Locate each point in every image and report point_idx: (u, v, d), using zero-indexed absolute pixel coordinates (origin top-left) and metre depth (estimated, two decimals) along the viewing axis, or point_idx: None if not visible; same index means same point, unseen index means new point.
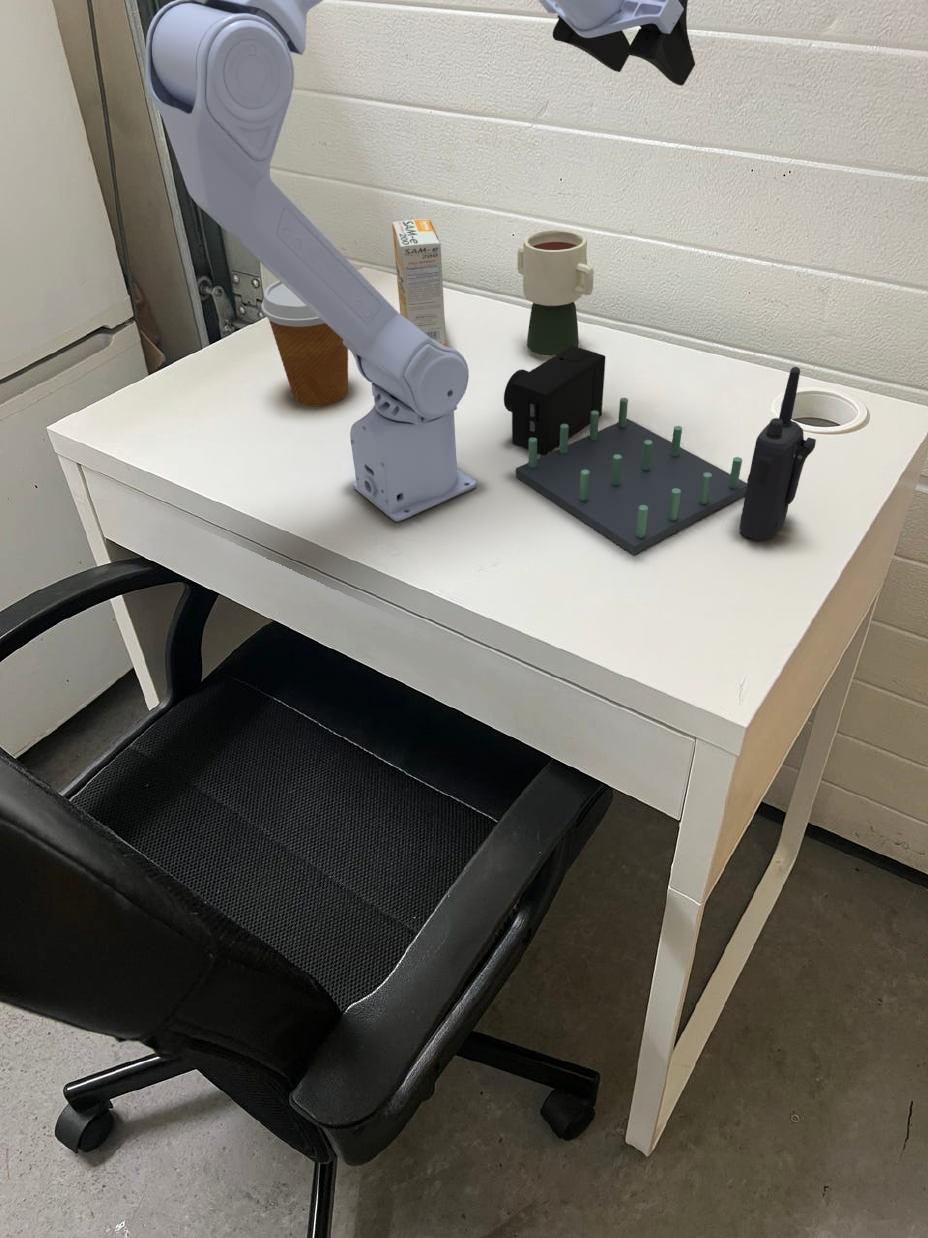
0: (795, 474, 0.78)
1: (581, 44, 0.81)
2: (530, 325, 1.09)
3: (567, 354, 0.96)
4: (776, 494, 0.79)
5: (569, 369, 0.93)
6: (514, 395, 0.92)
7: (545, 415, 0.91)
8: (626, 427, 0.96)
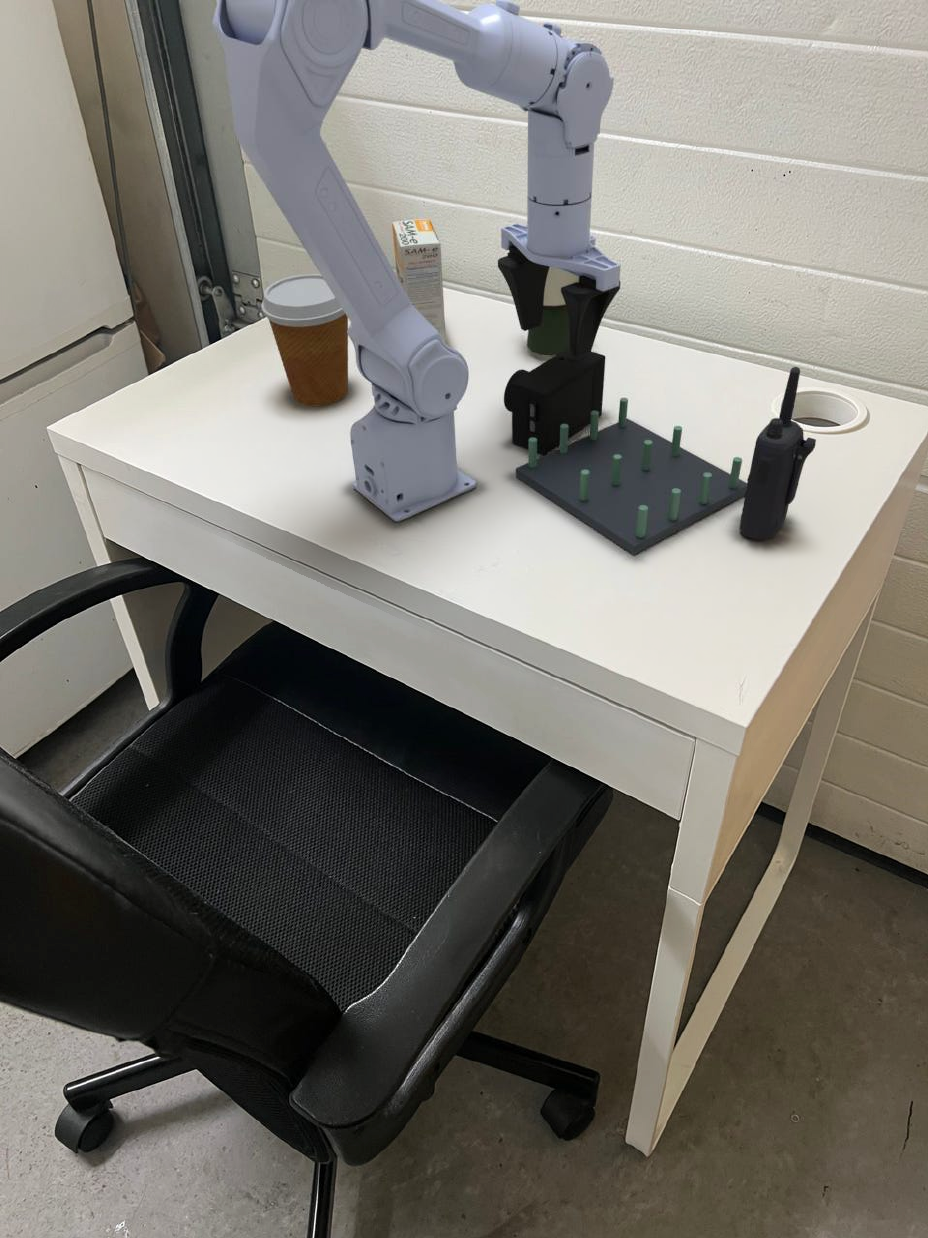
0: (795, 474, 0.78)
1: (515, 280, 0.90)
2: None
3: (567, 354, 0.96)
4: (776, 494, 0.79)
5: (569, 369, 0.93)
6: (514, 395, 0.92)
7: (545, 415, 0.91)
8: (626, 427, 0.96)
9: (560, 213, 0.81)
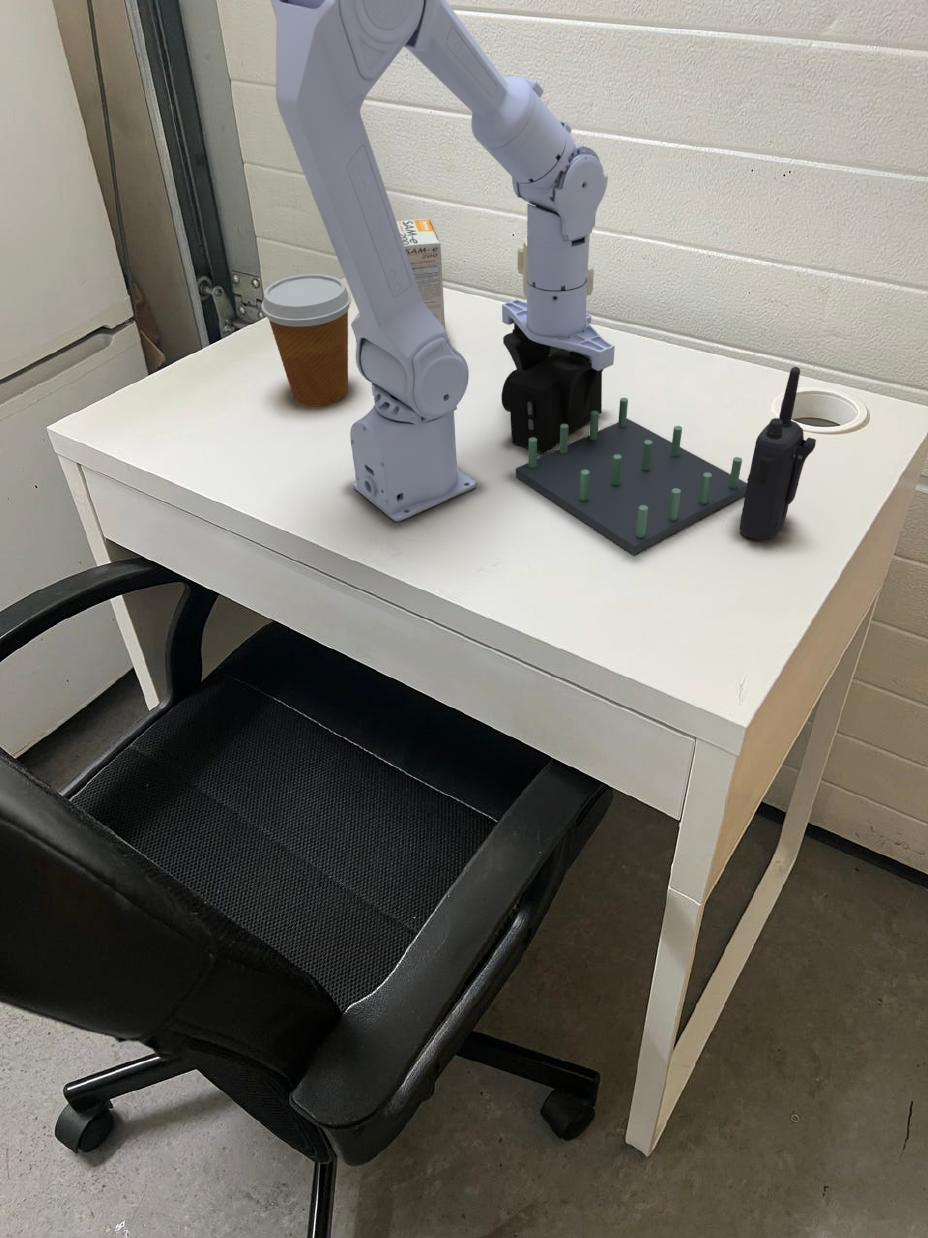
0: (795, 474, 0.78)
1: (520, 356, 0.94)
2: None
3: (564, 352, 0.96)
4: (776, 494, 0.79)
5: None
6: (511, 394, 0.93)
7: (543, 412, 0.91)
8: (626, 427, 0.96)
9: (558, 298, 0.86)
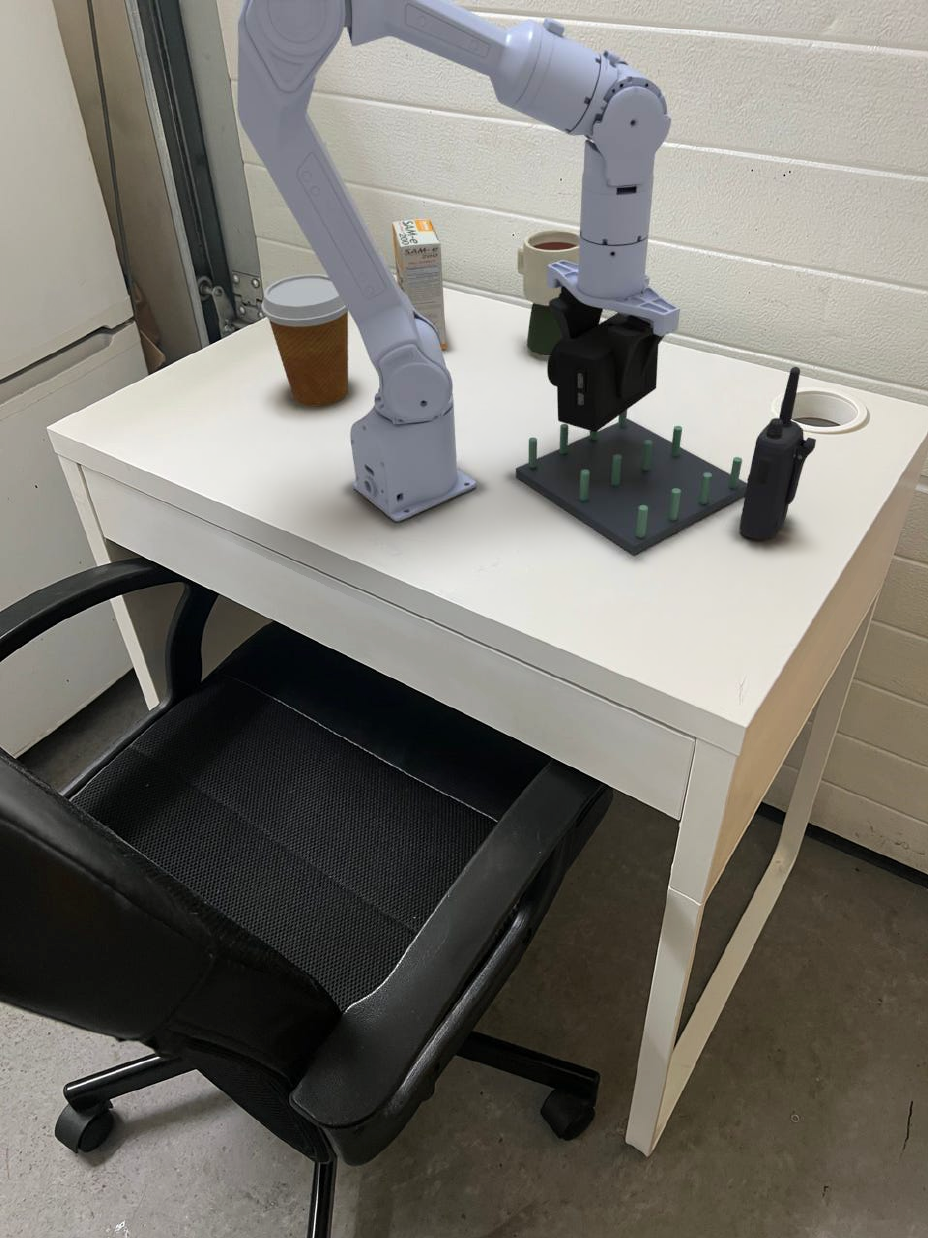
0: (795, 474, 0.78)
1: (568, 323, 0.84)
2: (530, 325, 1.09)
3: (616, 320, 0.86)
4: (776, 494, 0.79)
5: None
6: (559, 365, 0.82)
7: (595, 384, 0.81)
8: (626, 427, 0.96)
9: (616, 253, 0.76)
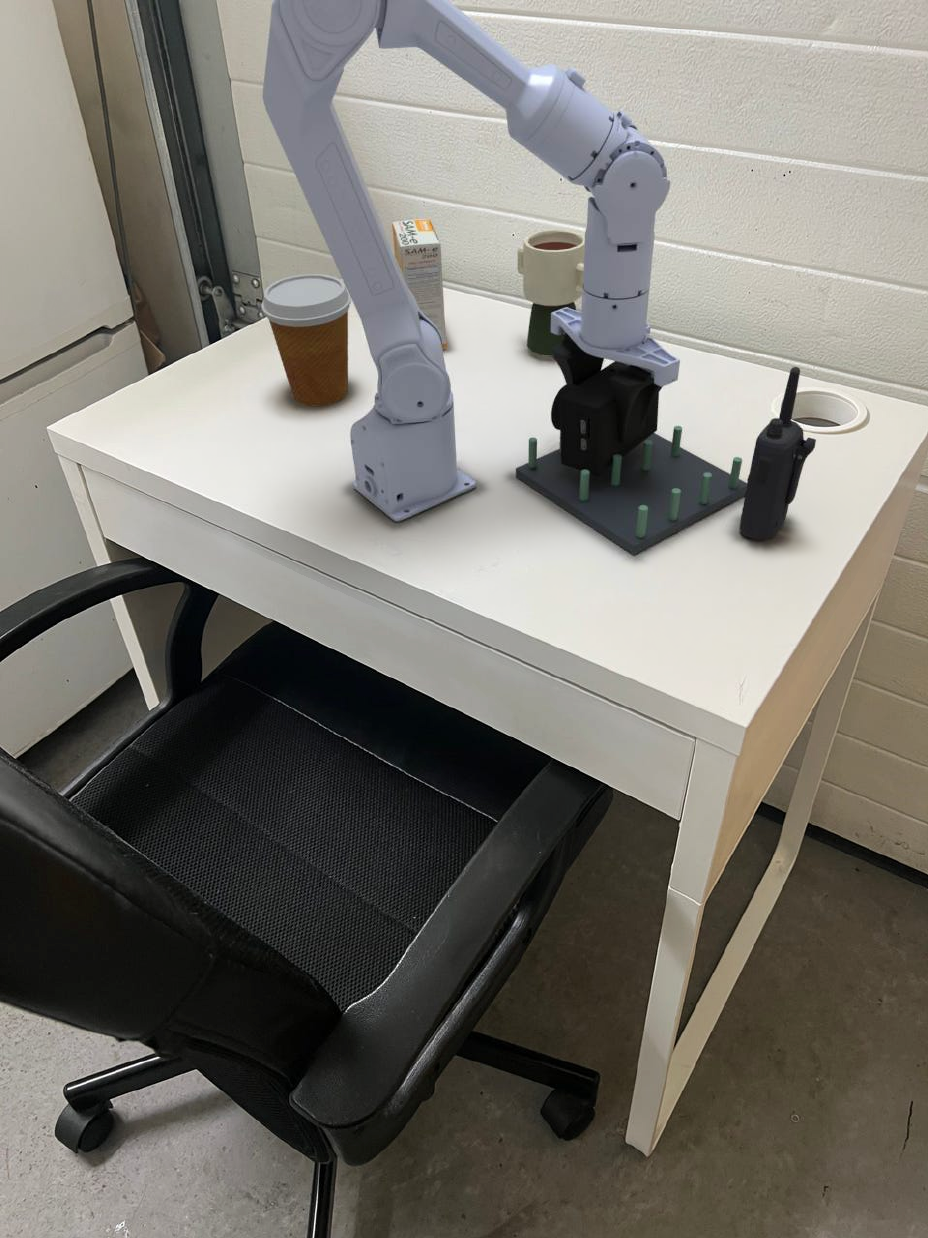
0: (795, 474, 0.78)
1: (571, 370, 0.86)
2: (530, 325, 1.09)
3: (618, 365, 0.88)
4: (776, 494, 0.79)
5: None
6: (562, 411, 0.85)
7: (598, 431, 0.83)
8: None
9: (618, 307, 0.78)
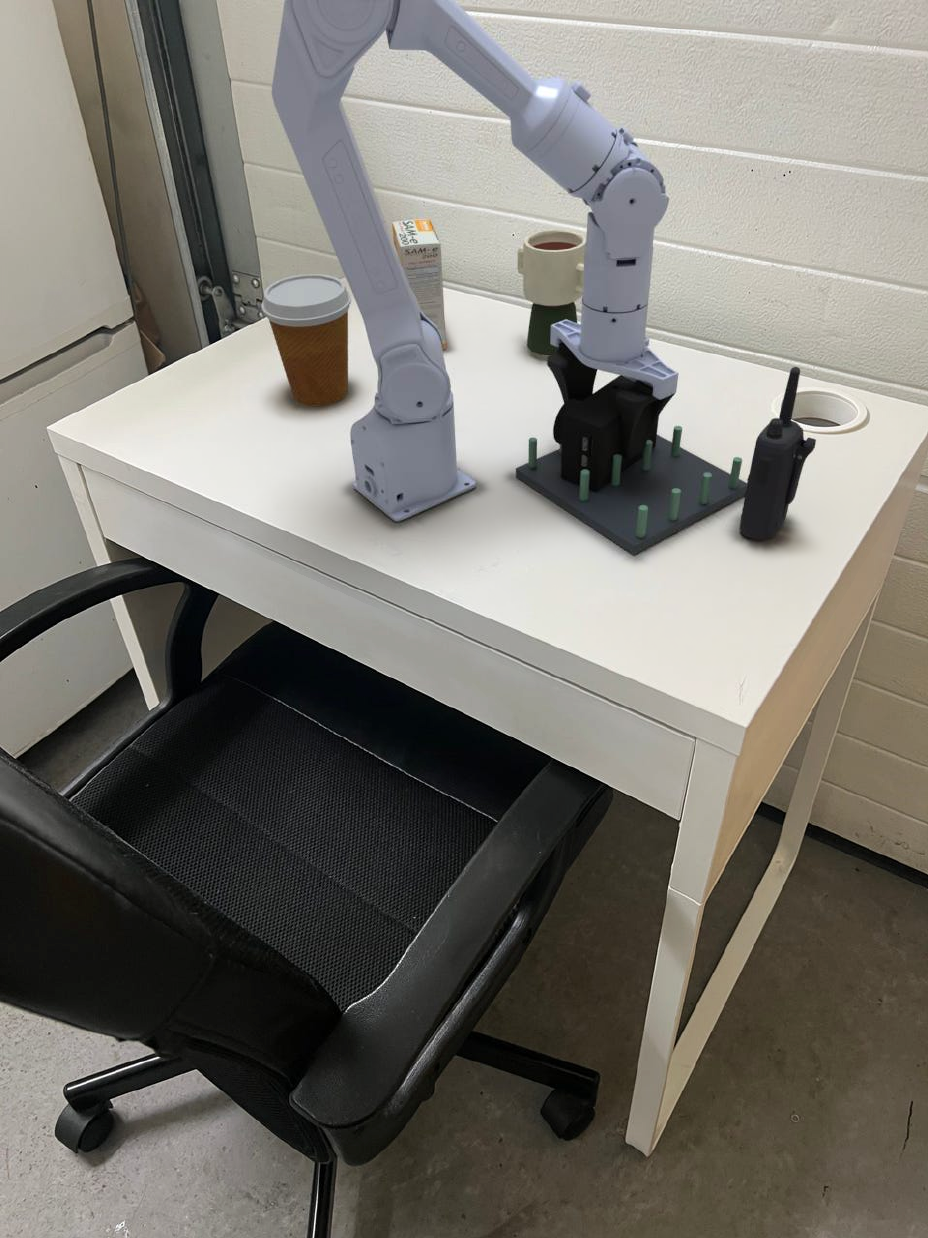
0: (795, 474, 0.78)
1: (565, 379, 0.88)
2: (530, 325, 1.09)
3: (621, 382, 0.89)
4: (776, 494, 0.79)
5: None
6: (565, 427, 0.85)
7: (599, 449, 0.84)
8: None
9: (617, 320, 0.79)
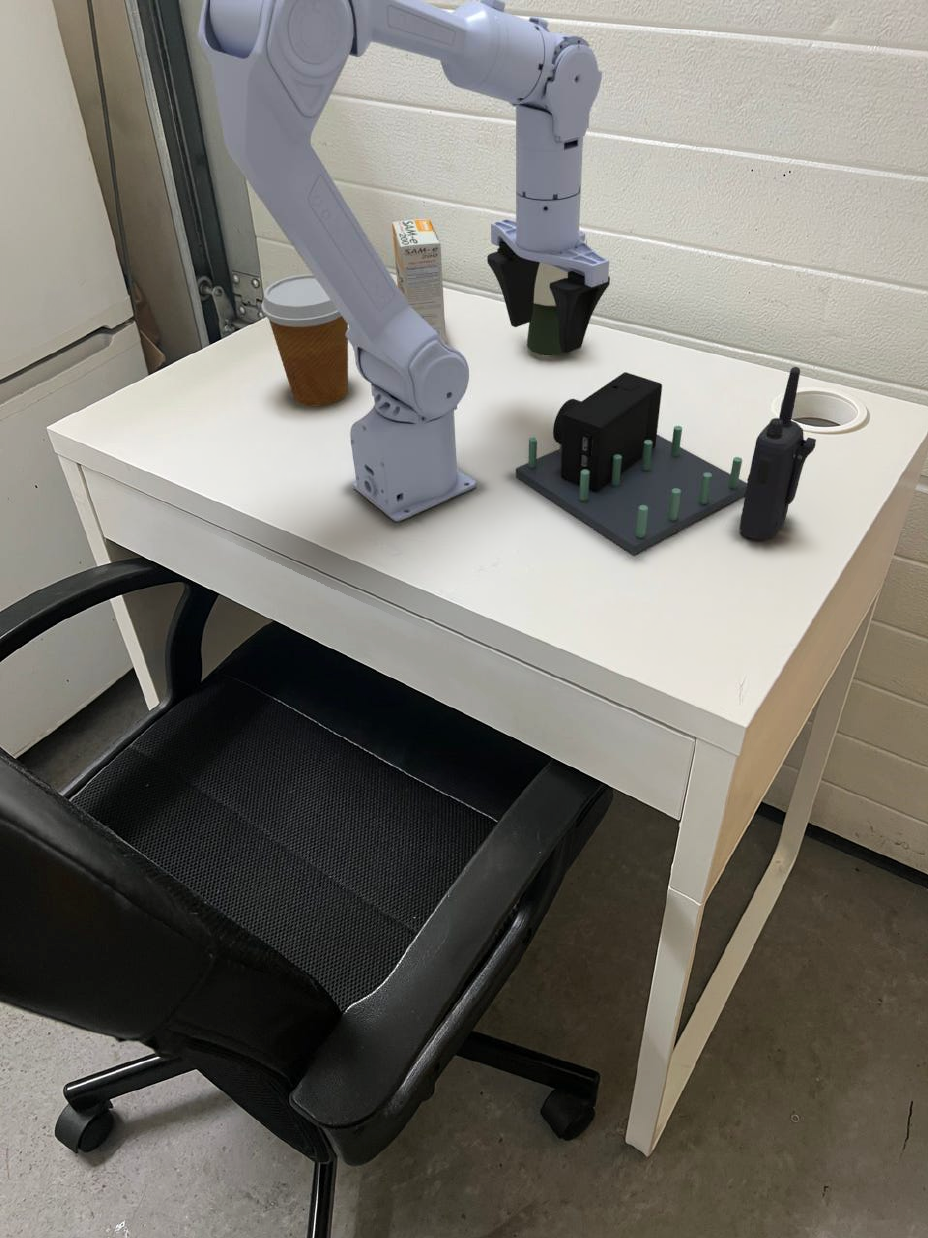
0: (795, 474, 0.78)
1: (505, 276, 0.89)
2: (530, 325, 1.09)
3: (621, 382, 0.89)
4: (776, 494, 0.79)
5: (624, 399, 0.86)
6: (565, 427, 0.85)
7: (599, 449, 0.84)
8: None
9: (548, 208, 0.81)
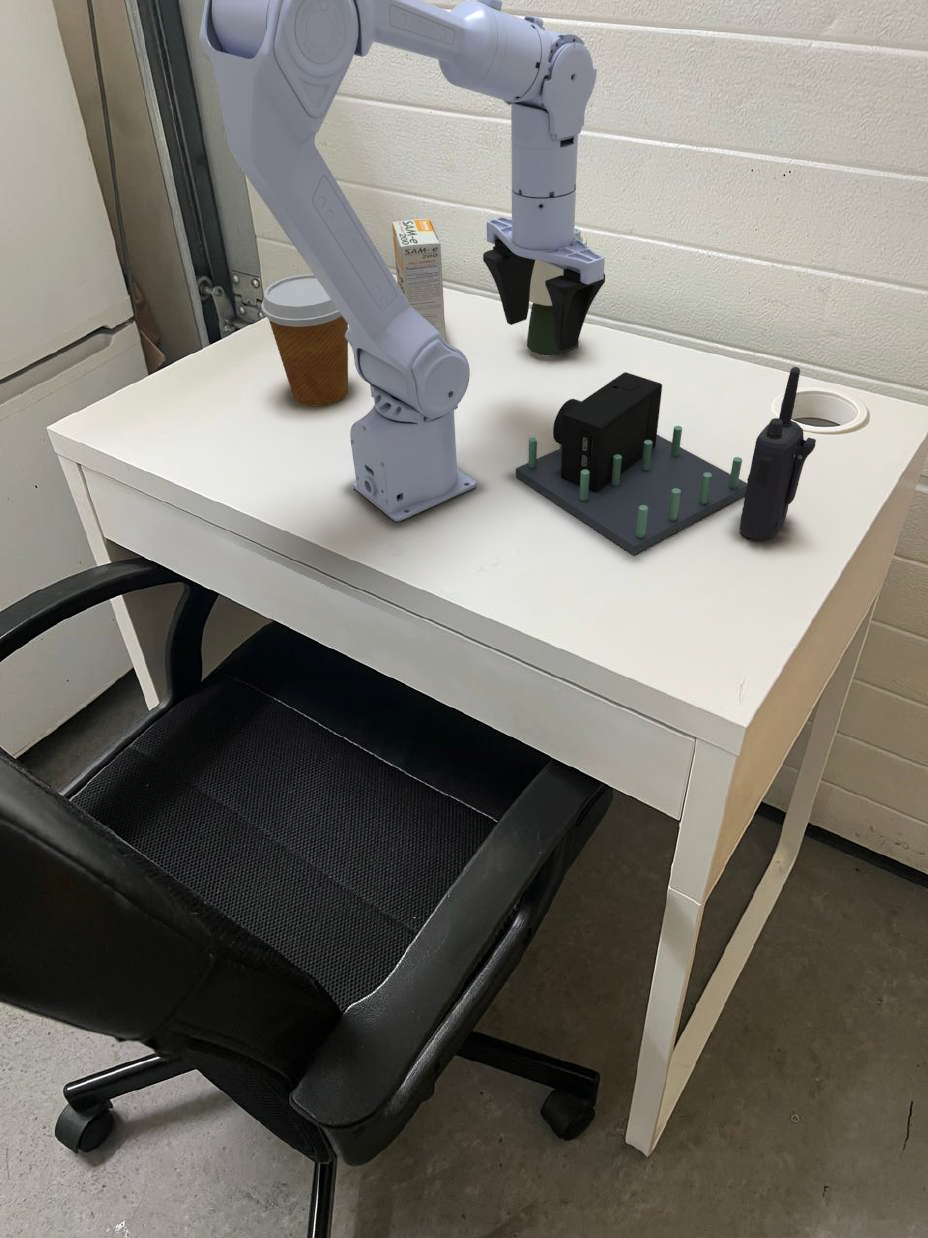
0: (795, 474, 0.78)
1: (500, 274, 0.90)
2: (530, 325, 1.09)
3: (621, 382, 0.89)
4: (776, 494, 0.79)
5: (624, 399, 0.86)
6: (565, 427, 0.85)
7: (599, 449, 0.84)
8: None
9: (544, 206, 0.81)
